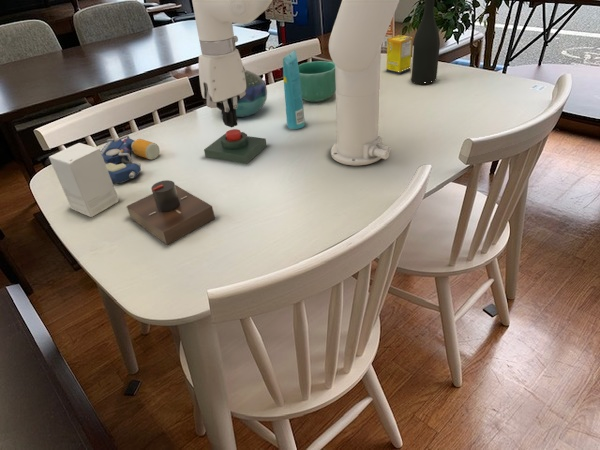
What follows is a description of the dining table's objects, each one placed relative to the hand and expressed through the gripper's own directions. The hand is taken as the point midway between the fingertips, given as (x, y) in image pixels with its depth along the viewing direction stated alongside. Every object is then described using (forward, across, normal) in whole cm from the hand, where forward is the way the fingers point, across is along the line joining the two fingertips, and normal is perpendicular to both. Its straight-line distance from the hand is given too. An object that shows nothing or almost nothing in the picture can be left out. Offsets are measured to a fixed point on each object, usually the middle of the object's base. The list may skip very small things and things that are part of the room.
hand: (230, 125), depth 110 cm
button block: (+7, 0, 0) cm, 7 cm away
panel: (+7, +27, +13) cm, 31 cm away
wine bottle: (+7, -69, +10) cm, 70 cm away
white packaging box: (+8, +35, -5) cm, 36 cm away
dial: (+4, +27, +13) cm, 30 cm away
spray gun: (+8, +21, -17) cm, 28 cm away
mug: (+7, -41, -9) cm, 43 cm away
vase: (+7, -18, -19) cm, 27 cm away
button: (+4, 0, 0) cm, 4 cm away
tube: (+7, -20, +1) cm, 22 cm away
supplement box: (+7, -74, -3) cm, 75 cm away
